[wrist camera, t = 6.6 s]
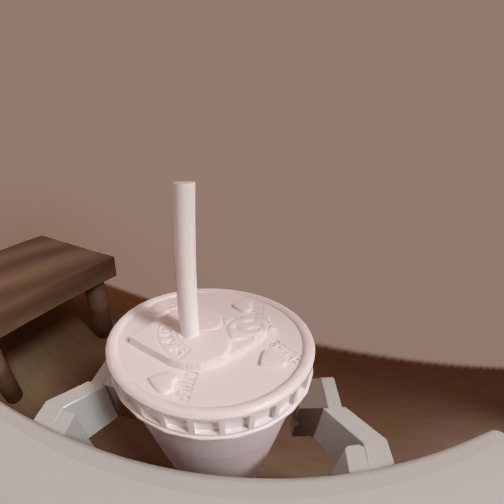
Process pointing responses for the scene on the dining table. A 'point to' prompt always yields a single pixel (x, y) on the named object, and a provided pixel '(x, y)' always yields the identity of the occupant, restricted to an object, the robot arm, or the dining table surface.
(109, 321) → the stool
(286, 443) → the dining table surface
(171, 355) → the smoothie
